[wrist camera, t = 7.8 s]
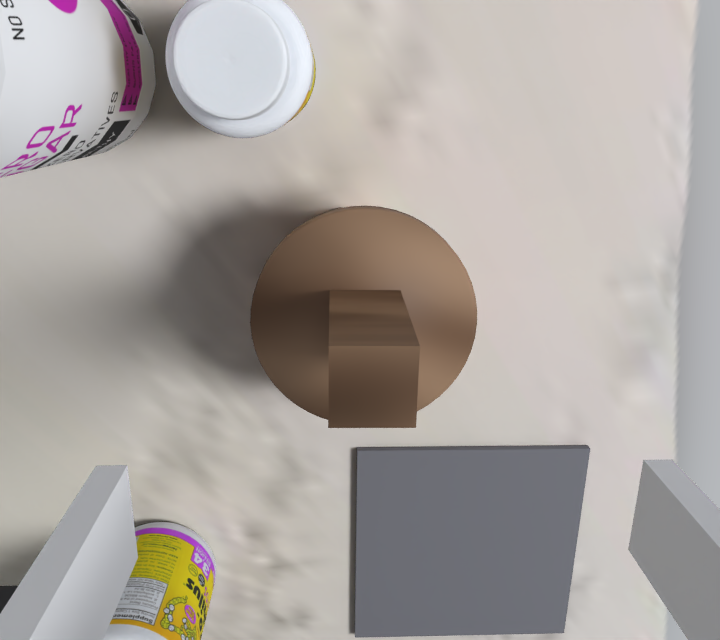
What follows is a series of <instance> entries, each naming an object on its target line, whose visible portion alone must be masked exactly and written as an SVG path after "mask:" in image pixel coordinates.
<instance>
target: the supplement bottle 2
mask: <svg viewBox="0 0 720 640" xmlns="http://www.w3.org/2000/svg"><path fill="white" fill-rule="evenodd" d="M165 58H166V68H167V74H168V78H169V81H170V84H171V87H172V89H173V91H174V93H175V95H176V97H177V99H178V100H179V102H180V103H181V105H182V106H183V108H184V109H185V110H186V111H187V112H188V113H189V114H190V115H191V116H192V117H193V118H194V119H195V120H196V121H197V122H198V123H200V124H201V125H203V126H204V127H206V128H208V129H209V130H211V131H214V132H216V133H219V134H221V135H225V136H229V137H234V138H253V137H258V136H262V135H265V134H268V133H271V132H273V131H275V130H277V129H278V128H280V127H282V126H283V125H284V124H286V123H288V122H289V121H290V120H292V119H293V118H294V117H295V116H296V115H298V114H299V112H300V111H301V110H302V109H303V108H304V107H305V105H306V104H307V102H308V100H309V98H310V96H311V93H312V91H313V87H314V83H315V70H316V68H315V59H314V55H313V51H312V48H311V45H310V42H309V39H308V36H307V33H306V31H305V29H304V27H303V25H302V23H301V22H300V20H299V18H298V17H297V16H296V14H295V13H294V12H293V10H292V9H291V8H290V7H289V6H288V5H287V4H286V3H285V2H284V1H282V0H188V1H187V2H186V3H185V4H184V5H183V7H182V8H181V9H180V10H179V12H178V13H177V15H176V17H175V19H174V20H173V23H172V25H171V27H170V30H169V33H168V37H167V42H166V54H165Z"/></svg>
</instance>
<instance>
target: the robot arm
mask: <svg viewBox="0 0 720 640" xmlns="http://www.w3.org/2000/svg"><path fill="white" fill-rule="evenodd" d="M628 550H629V551H630V553H631V554H632V556H633V557H634V559H635V560H636V562H637V563H638V565H639V566H640V568H641V569H642V571H643V572H644V574H645V575H646V577H647V578H648V580H649V581H650V583H651V584H652V586H653V588H654V589H655V591H656V592H657V594H658V595H659V597H660V598H661V600H662V601H663V603H664V604H665V606H666V607H667V609H668V610H669V612H670V613H671V615H672V616H673V618H674V619H675V621H676V622H677V624H678V625H679V627H680V628H681V630H682V631H683V633H684V634H685V636H686V637H687V639H688V640H720V509H719V508H718V507H717V506H716V505H715V504H714V503H713V502H712V501H711V500H710V499H709V497H708V496H707V495H706V494H705V493H704V492H703V491H702V490H701V489H700V488H699V487H698V486H697V485H696V484H695V483H694V482H693V481H692V480H691V478H689V477H688V475H687V474H686V473H685V472H684V471H683V470H682V469H681V468H680V467H679V466H678V465H677V464H676V463H675V462H674V461H673V460H643V466H642V472H641V478H640V484H639V490H638V496H637V502H636V507H635V513H634V519H633V525H632V531H631V537H630V543H629V549H628ZM137 559H138V553H137V544H136V536H135V527H134V518H133V510H132V501H131V492H130V483H129V475H128V466H127V465H115V466H96V467H95V468H94V470H93V471H92V473H91V475H90V476H89V478H88V479H87V481H86V482H85V484H84V485H83V487H82V488H81V490H80V492H79V493H78V495H77V496H76V498H75V499H74V501H73V502H72V504H71V505H70V507H69V509H68V510H67V512H66V513H65V515H64V516H63V518H62V519H61V521H60V522H59V524H58V525H57V527H56V529H55V530H54V532H53V533H52V535H51V536H50V538H49V539H48V541H47V542H46V544H45V546H44V547H43V549H42V550H41V552H40V553H39V555H38V556H37V558H36V559H35V561H34V563H33V564H32V566H31V567H30V569H29V570H28V572H27V573H26V575H25V576H24V578H23V580H22V581H21V583H20V584H19V586H0V640H103V638H104V636H105V634H106V631H107V629H108V627H109V624H110V622H111V620H112V617H113V615H114V613H115V610H116V608H117V606H118V603H119V601H120V599H121V596H122V594H123V591H124V589H125V587H126V584H127V582H128V580H129V577H130V575H131V573H132V570H133V568H134V566H135V563H136V561H137Z"/></svg>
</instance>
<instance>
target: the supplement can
mask: <svg viewBox="0 0 720 640" xmlns="http://www.w3.org/2000/svg"><path fill="white" fill-rule="evenodd" d="M155 87H156V79H155V66H154V53H153V51H152V48H151V46H150V43H149V41H148V38H147V36H146V34H145V31H144V29H143V26H142V24H141V22H140V20H139V19H138V18H137V17H136V16H135V14H134V13H133V12H132V11H131V10H130V9H129V7H128V6H127V5H126V4H125V3H124V1H123V0H0V177H5V176H9V175H13V174H17V173H21V172H25V171H29V170H33V169H38V168H42V167H46V166H50V165H54V164H58V163H62V162H66V161H71V160H75V159H79V158H83V157H87V156H91V155H95V154H100V153H104V152H107V151H109V150H110V149H112V148H114V147H115V146H117V145H119V144H120V143H122V142H124V141H125V140H127V139H129V138H130V137H131V136H132V135H133V134H134V132H135V131H136V130H137V128H138V127H139V126H140V124H141V123H142V122H143V120H144V119H145V118H146V116H147V115H148V112H149V109H150V105H151V101H152V98H153V94H154V91H155Z"/></svg>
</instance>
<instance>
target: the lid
mask: <svg viewBox="0 0 720 640" xmlns="http://www.w3.org/2000/svg"><path fill="white" fill-rule="evenodd" d="M250 323H251V333H252V339H253V343H254V347H255V351H256V353H257V356H258V358H259V361H260V363H261V365H262V367H263V369H264V370H265V372H266V374H267V376H268V377H269V378H270V380H271V381H272V382H273V383H274V385H275V386H276V387H277V388H278V389H279V390H280V391H281V392H282V393H283V394H284V395H285V396H286V397H287V398H288V399H290V400H291V401H292V402H293V403H295V404H296V405H298V406H299V407H301V408H303V409H304V410H306V411H308V412H310V413H312V414H314V415H316V416H319V417H321V418H324V419H327V420H328V428H416V415H417V411H419V410H420V409H422V408H424V407H425V406H427V405H429V404H430V403H431V402H433V401H434V400H435V399H437V398H438V397H439V396H440V395H441V394H442V393H443V392H444V391H445V390H446V389H447V388H448V387H449V386H450V385H451V384H452V383H453V381H454V380H455V379H456V378H457V376H458V375H459V373H460V372H461V370H462V368H463V367H464V365H465V363H466V361H467V359H468V357H469V354H470V352H471V349H472V346H473V342H474V339H475V333H476V326H477V306H476V298H475V293H474V290H473V286H472V282H471V280H470V278H469V275H468V273H467V271H466V269H465V267H464V265H463V264H462V262H461V260H460V259H459V257H458V256H457V255H456V253H455V252H454V251H453V249H452V248H451V247H450V246H449V245H448V243H447V242H446V241H445V240H444V239H443V238H442V237H441V236H440V235H439V234H438V233H437V232H436V231H435V230H433V229H432V228H430V227H429V226H428V225H426V224H425V223H423V222H422V221H420V220H418V219H416V218H414V217H412V216H410V215H408V214H405V213H402V212H399V211H397V210H393V209H388V208H383V207H376V206H351V207H345V208H340V209H335V210H332V211H329V212H326V213H323V214H320V215H318V216H316V217H314V218H312V219H310V220H308V221H306V222H305V223H303V224H302V225H300V226H299V227H297V228H296V229H294V230H293V231H292V232H291V233H290V234H289V235H288V236H286V237H285V238H284V239H283V240H282V241H281V243H280V244H279V245H278V246H277V247H276V248H275V250H274V251H273V253H272V254H271V256H270V257H269V259H268V260H267V262H266V264H265V266H264V268H263V270H262V272H261V274H260V277H259V279H258V282H257V285H256V288H255V291H254V294H253V300H252V305H251V321H250Z"/></svg>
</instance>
